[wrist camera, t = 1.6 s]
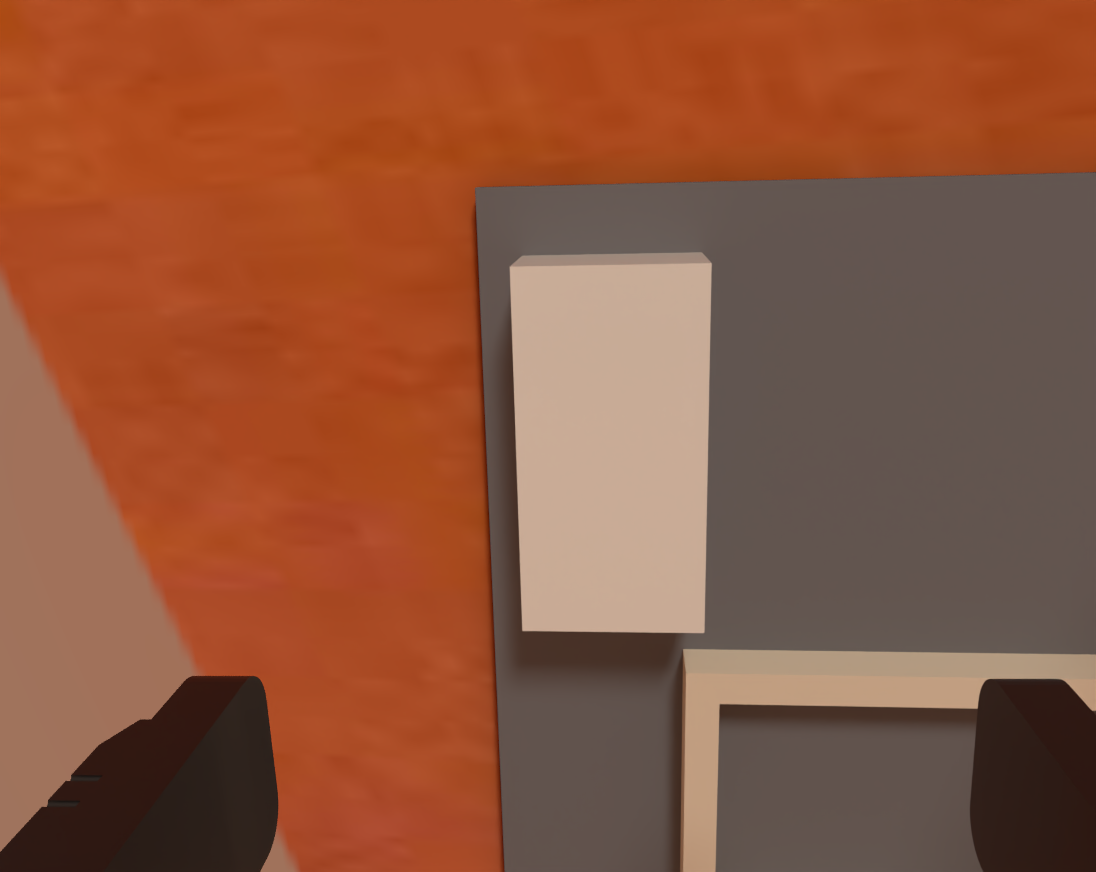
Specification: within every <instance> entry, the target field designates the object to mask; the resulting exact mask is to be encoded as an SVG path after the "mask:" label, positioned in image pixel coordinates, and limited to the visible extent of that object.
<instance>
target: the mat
mask: <svg viewBox="0 0 1096 872" xmlns="http://www.w3.org/2000/svg"><path fill="white" fill-rule="evenodd" d="M475 195H476V218H477V242H478V265H479V288H480V311H481V335H482V358H483V381H484V404H485V427H486V451H487V474H488V497H489V520H490V544H491V567H492V590H493V613H494V636H495V660H496V683H497V706H498V729H499V752H500V776H501V799H502V822H503V845H504V869H505V872H983V870H982V868H981V866H980V863H979V861H978V858H977V855H976V851H975V847H974V843H973V838H972V832H971V824H970V797H971V785H972V773H973V760H974V748H975V736H976V724H977V711H978V701H979V694H980V690H981V687H982V685H983V683H984V682H985V681H986V680H987V679H1062V680H1063V681H1065V682H1066V683H1067V684H1069V685H1070V687H1071V688H1072V689H1073V690H1074V691H1075V692H1076V693H1077V694H1078V696H1079V697H1080V698H1081V699H1082V700H1083V701H1084V702H1085V703H1086V705H1087V706H1088V707H1089V708H1090V709H1091V710H1092V711H1093V712H1094V713H1095V715H1096V172H1090V173H1049V174H1008V175H966V176H925V177H883V178H842V179H801V180H759V181H718V182H676V183H635V184H594V185H552V186H511V187H477V188H475ZM691 252H702V253H703V254H704V255H705V256H706V257H707V258H708V260H709V261H710V262H711V263H712V270H711V322H710V373H709V425H708V476H707V528H706V579H705V630H704V633H648V632H565V631H522V606H521V578H520V549H519V520H518V491H517V462H516V434H515V405H514V376H513V347H512V318H511V289H510V266H511V265H512V264H513V263H514V262H516V261H517V260H518V259H519V258H520V257H521V256H529V255H583V254H637V253H691Z"/></svg>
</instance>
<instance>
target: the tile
mask: <svg viewBox="0 0 1096 872" xmlns="http://www.w3.org/2000/svg"><path fill="white" fill-rule="evenodd" d="M711 270H712V263H711V262H710V261H709V260H708V258H707V257H706V256H705V255H704V254H703V253H702V252H691V253H637V254H583V255H529V256H521V257H520V258H519V259H518V260H517V261H516V262H514V263H513V264H512V265H511V266H510V289H511V318H512V347H513V376H514V405H515V434H516V462H517V491H518V520H519V549H520V578H521V606H522V631H565V632H648V633H704V630H705V579H706V528H707V476H708V425H709V373H710V322H711Z"/></svg>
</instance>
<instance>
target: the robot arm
mask: <svg viewBox="0 0 1096 872" xmlns="http://www.w3.org/2000/svg"><path fill="white" fill-rule="evenodd" d="M277 818H278V792H277V783H276V775H275V767H274V758H273V750H272V742H271V734H270V725H269V717H268V709H267V700H266V694H265V690H264V687H263V684H262V682H261V681H260V679H259V678H258V677H255V676H191V677H189V678H188V679H186V680H185V681H184V682H183V684H182V685H181V686H180V687H179V688H178V689H177V690H176V692H175V693H174V694H173V695H172V696H171V697H170V698H169V700H168V701H167V702H166V703H165V704H164V705H163V707H162V708H161V709H160V710H159V711H158V712H157V713H156V715H155V716H154V717H153V718H152V719H151V720H139V721H137V722H135V723H134V724H132V725H131V726H129V727H127V728H126V729H124V730H123V731H121V732H119V733H118V734H116V735H114V736H113V737H111V738H110V739H108V740H106V741H105V742H103V743H101V744H100V745H99V746H98V747H97V748H96V749H95V750H94V751H93V752H92V753H91V754H90V755H89V757H87V759H86V760H85V761H84V762H83V763H82V764H81V765H80V766H79V767H78V768H77V770H75V772H74V773H73V774H72V775H71V781H65V782H64V784H63V785H62V786H61V787H60V788H59V789H58V790H57V791H56V792H55V793H54V794H53V795H52V797H51V798H50V799H49V800H48V805H47V807H41V809H40V810H39V811H38V812H37V813H36V814H35V815H34V816H33V817H32V818H31V819H30V820H29V822H28V823H27V824H26V825H25V826H24V827H23V828H22V829H21V830H20V831H19V832H18V833H17V834H16V836H15V837H14V838H13V839H12V840H11V841H10V842H9V843H8V844H7V845H6V847H4V849H3V850H2V851H1V852H0V872H260V871H261V869H262V867H263V865H264V863H265V861H266V859H267V857H268V855H269V853H270V850H271V847H272V844H273V841H274V837H275V832H276V826H277ZM970 824H971V832H972V838H973V843H974V847H975V851H976V855H977V858H978V861H979V863H980V866H981V868H982V870H983V872H1096V715H1095V713H1094V712H1093V711H1092V710H1091V709H1090V708H1089V707H1088V706H1087V705H1086V703H1085V702H1084V701H1083V700H1082V699H1081V698H1080V697H1079V696H1078V694H1077V693H1076V692H1075V691H1074V690H1073V689H1072V688H1071V687H1070V685H1069V684H1067V683H1066V682H1065V681H1063V680H1062V679H987V680H986V681H985V682H984V683H983V685H982V687H981V690H980V694H979V701H978V711H977V724H976V736H975V748H974V760H973V773H972V785H971V797H970Z"/></svg>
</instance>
